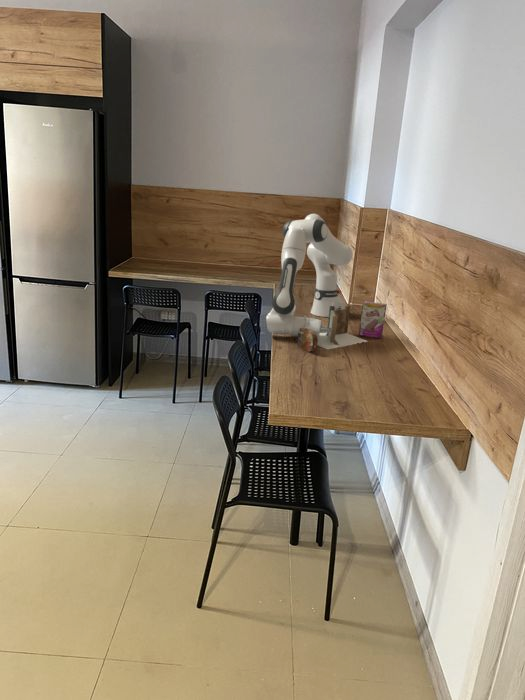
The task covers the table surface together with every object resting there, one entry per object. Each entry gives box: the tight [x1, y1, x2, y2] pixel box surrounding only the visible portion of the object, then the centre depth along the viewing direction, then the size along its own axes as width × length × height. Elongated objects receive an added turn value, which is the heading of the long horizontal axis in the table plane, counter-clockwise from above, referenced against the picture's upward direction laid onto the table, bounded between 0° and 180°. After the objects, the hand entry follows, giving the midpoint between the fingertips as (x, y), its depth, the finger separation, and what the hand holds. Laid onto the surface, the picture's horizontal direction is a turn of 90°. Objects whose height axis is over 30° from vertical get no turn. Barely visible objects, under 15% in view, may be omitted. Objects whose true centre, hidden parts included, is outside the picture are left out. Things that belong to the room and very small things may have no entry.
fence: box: [327, 305, 351, 336], centre depth 254 cm, size 13×2×14 cm, turn 127°
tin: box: [297, 328, 318, 353], centre depth 231 cm, size 15×3×8 cm, turn 21°
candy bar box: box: [358, 300, 388, 339], centre depth 255 cm, size 11×5×16 cm, turn 74°
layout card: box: [317, 332, 368, 350], centre depth 248 cm, size 26×20×1 cm
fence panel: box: [329, 310, 337, 343], centre depth 243 cm, size 14×2×12 cm, turn 178°
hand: (330, 330), depth 242 cm, fingers closed
